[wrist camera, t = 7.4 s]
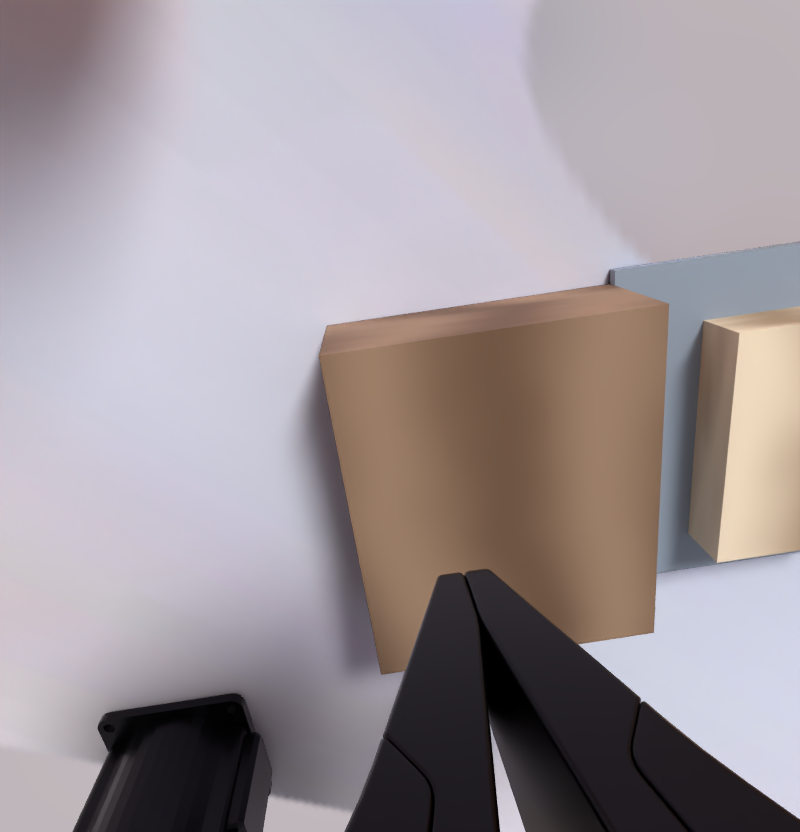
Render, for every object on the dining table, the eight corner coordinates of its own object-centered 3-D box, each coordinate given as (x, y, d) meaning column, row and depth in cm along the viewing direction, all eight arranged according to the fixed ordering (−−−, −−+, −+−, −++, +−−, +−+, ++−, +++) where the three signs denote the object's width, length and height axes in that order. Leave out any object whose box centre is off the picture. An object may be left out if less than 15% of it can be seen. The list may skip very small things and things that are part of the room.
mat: (607, 574, 24) (611, 580, 24) (610, 269, 19) (614, 270, 19) (833, 539, 24) (841, 545, 24) (892, 227, 19) (903, 228, 19)
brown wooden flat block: (378, 599, 24) (381, 674, 20) (327, 325, 19) (318, 355, 15) (607, 564, 24) (653, 632, 20) (610, 284, 19) (669, 303, 16)
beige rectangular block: (871, 539, 21) (829, 511, 23) (922, 306, 18) (869, 296, 20) (716, 563, 21) (688, 533, 23) (739, 333, 18) (703, 320, 20)
